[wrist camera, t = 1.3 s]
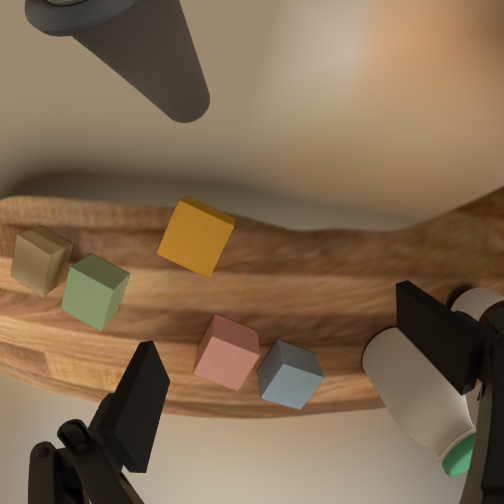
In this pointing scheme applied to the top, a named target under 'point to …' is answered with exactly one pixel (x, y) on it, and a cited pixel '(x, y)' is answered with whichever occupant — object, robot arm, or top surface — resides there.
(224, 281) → the top surface
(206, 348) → the dusty pink block
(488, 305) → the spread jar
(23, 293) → the top surface
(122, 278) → the sage block
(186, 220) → the ochre block
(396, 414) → the milk bottle
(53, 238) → the birch block
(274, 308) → the top surface
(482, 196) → the top surface
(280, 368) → the blue-grey block
